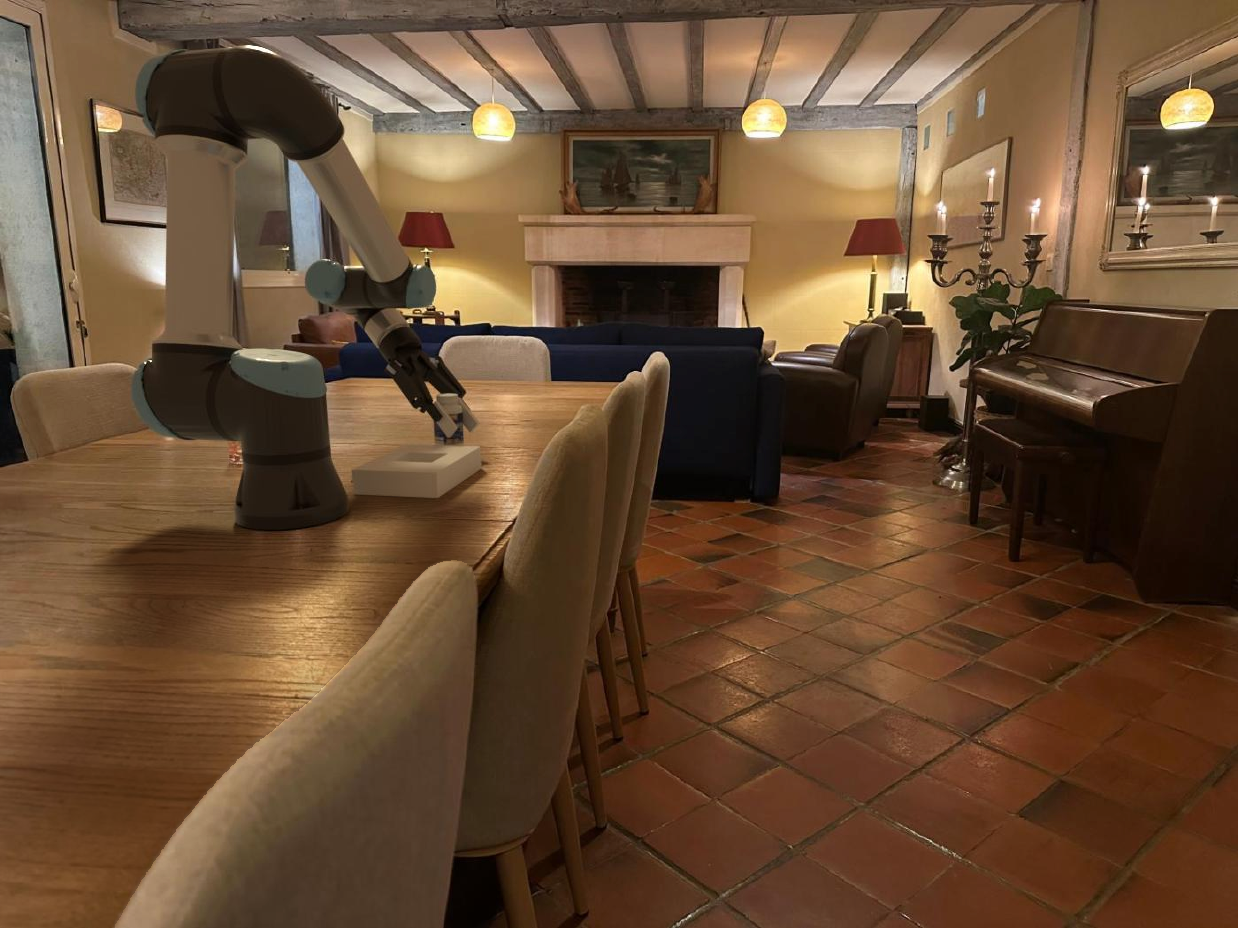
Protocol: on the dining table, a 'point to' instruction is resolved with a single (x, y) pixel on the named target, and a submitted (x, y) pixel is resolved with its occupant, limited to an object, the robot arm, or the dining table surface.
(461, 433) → the pill bottle
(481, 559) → the dining table surface
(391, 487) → the socket block
